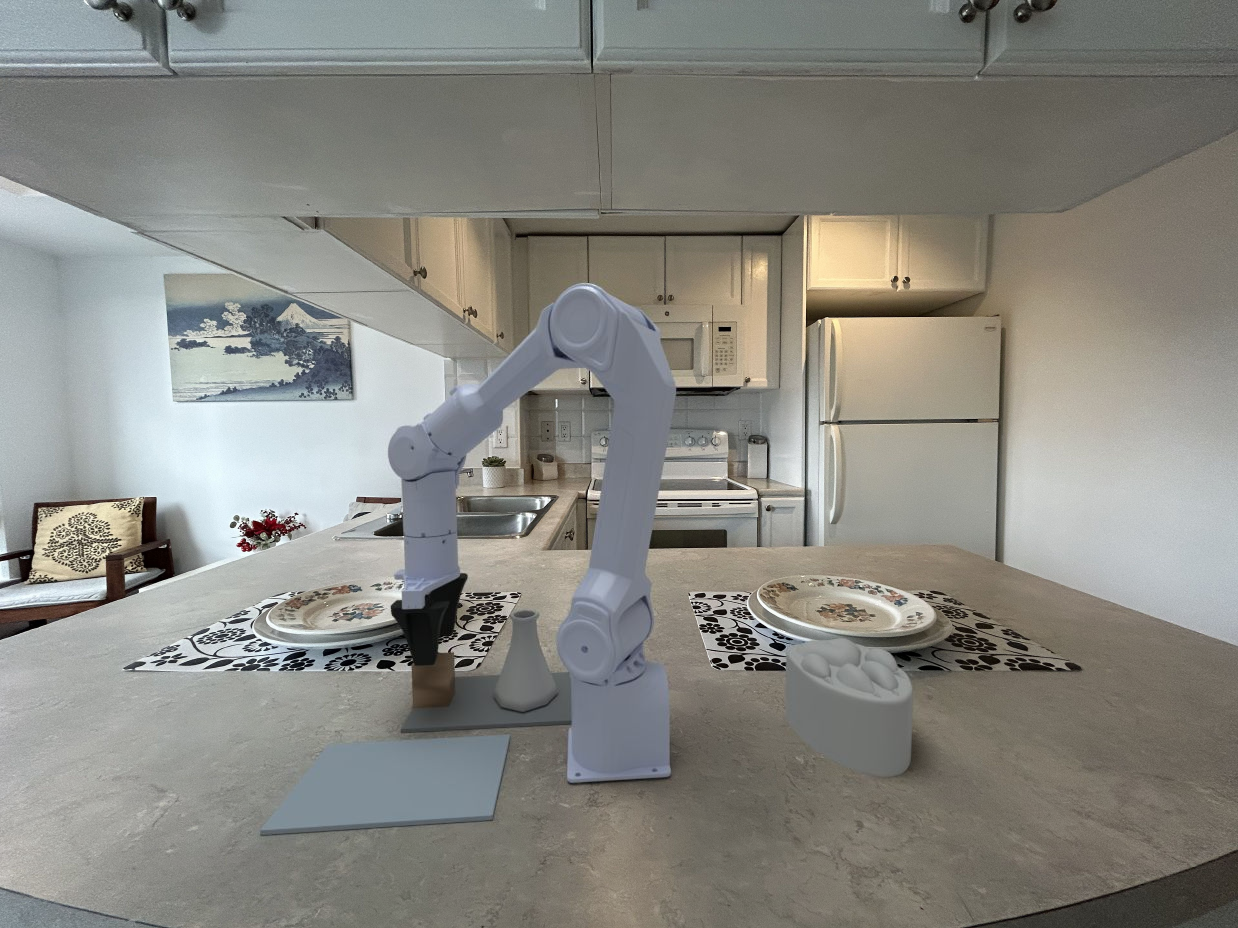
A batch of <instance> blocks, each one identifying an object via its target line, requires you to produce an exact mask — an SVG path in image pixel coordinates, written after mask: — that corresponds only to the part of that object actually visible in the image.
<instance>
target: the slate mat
mask: <svg viewBox="0 0 1238 928" xmlns="http://www.w3.org/2000/svg"><path fill="white" fill-rule="evenodd" d="M510 740H511V734H496V735H495V734H494V735H476V736H473V735H472V736H458V737H436V738H420V739H402V740H396V739H395V740H382V741H379V740H378V741H377V740H376V741H363V742H362V741H361V742H360V741H359V742H344V743H340V742H339V743H328V744H327V745H326V746H325V748H324V749H323V750H322V752H320V754H319V755H318V756H317V758H316V759H315V760H314V762H313V763H312V764H311V765H310V767H309V768H308V769H307V771H306V772H305V773H304V774H303V775H302V777H301V778H300V779H299V781H297V783H296V784H295V785H294V787H293V788H292V789H291V791H289V793H288V795H287V796H286V797H285V798H284V799H283V801H282V802H281V804H280V805H279V806H278V807H277V809H276V810H275V811H274V812H273V814H272V815H271V816H270V817H269V818H268V820H267V821H266V823H265V824H263V826H262V828H261V829H260V831H259V832H260V833H259V834H260V836H267V835H283V834H284V835H285V834H298V833H299V834H300V833H311V832H312V833H314V832H330V831H345V830H347V831H348V830H360V829H362V830H363V829H374V828H375V829H377V828H389V827H392V828H393V827H403V826H408V827H409V826H422V825H435V824H452V823H453V824H454V823H465V822H466V823H467V822H480V821H481V822H483V821H492V820H493V819H494V815H495V809H496V804H497V802H498V796H499V791H500V786H501V783H502V779H503V777H502V776H503V774H504V773H503V772H504V768H505V764H506V759H507V755H508V750H509V745H510V742H511V741H510Z"/></svg>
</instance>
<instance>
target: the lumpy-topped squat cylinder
mask: <svg viewBox="0 0 1238 928" xmlns="http://www.w3.org/2000/svg"><path fill="white" fill-rule="evenodd" d="M785 655H786V656H785V667H786V668H785V695H784V696H785V703H784V704H785V705H784V709H785V710H784V714H785V717H786V720H787V721H788V722H789V724H790V725H791V727H792V728H793V730H794V731H795V732H796V733H797V734H798V736H799V737H800V738H801V739H802V740H803V741H804V742H805V743H806V744H807V745H808V746H809V747H810V748H811V749H813V750H814V752H817V753H818V754H819V755H822V756H823V757H825V758H827V759H829V760H831V761H833V762H835V763H837V764H839V765H841V766H843V767H845V768H848V769H850V770H853V771H855V772H859V773H862V774H867V775H871V776H874V777H875V776H876V777H883V778H891V777H897V776H900V775H902V774H904V773H905V772H906V771H907V770H908V768H909V766H910V765H911V760H912V739H913V737H912V734H913V710H914V707H913V706H914V688H913V685H912V682H911V680H910V677H909V675H908V674H907V673H906V672H905V671H904V670H902V669H901V668H900V667H899V666H898V664H897V661H896V659H895V657H894V656H893V655H892V654H891V653H890V652H889V651H887V650H886V649H883V648H878V647H875V648H871V649H870V648H868V647H866V646H864V645H861V644H857V643H856V642H855V643H854V642H853V641H852V640H850V639H848V638H843V637H840V638H838V637H837V638H834V639H827V640H825V639H822V640H821V639H818V640H808V641H805V642H803V643H799V644H793V645H791V646H789V647H788V648H787V650H786V653H785Z"/></svg>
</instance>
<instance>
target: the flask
mask: <svg viewBox="0 0 1238 928" xmlns="http://www.w3.org/2000/svg"><path fill="white" fill-rule="evenodd" d="M539 617H540V613H539V612H538V611H537V610H535V609H532V608H531V609H529V608H523V609H517V610H514V611H513V612H511V613H510V614H509V619H510V620H511V623H512V632H511V633H512V634H511V639H510V645H509V648H508V651H507V654H506V657H505V661H504V664H503V665H502V669H501V672H500V674H499V675H500V677H499V679H498V682H497V685H496V687H495V690H494V693H493V697H494V698H495V699H496V701H497V702H498V704H499V705H500V706H501V707H504V708H508V709H513V710H517V711H521V712H524V711H527V710H530V709H533V708H537V707H540V706H543V705H546V704H548V702H549V701H550V700H551V699H552V698H553V697H554V696H555V695H556V694H557V693H558V689H557V687H556V684H555V682H554V679H553V677H552V675H551V673H552V672H551V671H550V668H549V665H548V663H547V660H546V657H545V654H544V652H543V650H542V647H541V644H540V638H539V634H538V627H537V626H538V625H537V624H538V623H537V620H538V619H539Z"/></svg>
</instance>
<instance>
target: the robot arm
mask: <svg viewBox="0 0 1238 928" xmlns="http://www.w3.org/2000/svg"><path fill="white" fill-rule="evenodd" d="M661 333H662V332H661V330H660V328H659V327H658V326H657V325H656V324H655V323H654V322H653V321H652V320H651V319H650V317H648V315H646V313H644V311H643V310H642V309H641V308H638V307H636V306H633V305H630V304H628V303H626V302H624V301H622V300H620V299H618V298H617V297H616V296H613V295H612V294H610V293H608V292H607V291H605V290H604V289H603V288H602V287H601V286H599V285H596V284H594V283H590V282H589V283H588V282H582V283H576V284H574V285H572V286H569V287H568V288H567V289H566V290H564V291H563V292H562V293H561V294H560V295H559V296H558V297H557V299H556V301H555V302H552V303H550V304H549V305H548V306H546V307H545V308H543V309H542V310H541V312H540V315H539V318H538V322H537V324H536V326H535V328H534V329H533V330H532V331H531V332H530V333H529V334H528V335H527V336H526V337H525V338H524V339H523V340H522V342H521V343H520V344H518V346H516V347H515V349H514V350H513V351H512V352H510V354H509V355H508V356H507V357H505V359H503V361H502V362H501V363H500V364H499V365H498V366H497V367H496V368H495V369H494V370H493V371H492V372H491V373H490V374H489V375H488V377H486V379H485V380H484V381H483V382H482V383H481V384H480V385H477V384H473V383H465V384H463V385H455V386H454V387H453V388H451V389H450V390H449V392H448V393H449V395H450V396H449V397H447V399H446V400H444V402H443V403H441V404H440V405H439V406H438V407H437V408H436V409H435V410H434V411H432V412H431V413H430V412H429V413H427V414H425V416H424V417H423V421H421V422H419V423H417V424H415V425H411V424H410V425H407V424H406V425H405V424H404V425H401V426H399V427H397V429H396V430H395V432H394V433H393V435H392V436H391V438H390V440H389V443H388V447H387V457H388V462H389V466H390V467H391V469H392V471H393V472H394V474H395V475H396V476H398V477H399V478H400V479H401V503H402V504H401V505H402V507H401V509H402V527H403V528H402V529H403V552H404V568H402V569H398V570H396V571H395V572H394V575H393V576H394V577H393V578H394V580H395V581H399V580H400V581H403V586H404V588H403V589H402V590H401V599H396V600H395V601H394V602H393V603H392V604H391V605H390V613H391V616H392V618H393V619H395V621H396V622H397V624H398V626H399V627H400V628H401V629H400V630H401V631H402V632H403V633H402V634H403V635H404V637H405V639H406V644H407V646H408V649H409V653H410V656H411V659H412V663H413V662H414V665H415V666H423V665H434V664H435V662H436V658H437V654H438V653H439V643H440V637H452V636H453V634H454V631H455V627H456V621H457V614H458V609H459V603H460V599H461V595H462V593H463V590H464V587H465V585H466V583H467V581H468V578H469V575H468V573H466V572H461V567H460V565H459V553H458V552H459V550H458V548H459V546H458V521H457V520H458V519H457V518H458V517H457V491H456V490H457V489H458V486H459V485H460V473H461V471H462V470H463V468H464V466H465V464H466V460H467V455H468V454H469V453H470V452H471V451H473V450H474V449H475V448H476V447H478V446H479V445H480V444H481V443H482V442H484V440H486V439H487V438H489V437H490V436H491V435H493V434H494V433H495V432H496V431H497V430H498V429H500V427H501V426H502V425H503V422H504V421H503V420H504V410H505V409H506V408H508V407H509V406H510V405H512V404H513V403H514V402H517V400H519V399H520V398H521V397H523V396H525V394H527V393H528V392H529V391H531V390H532V389H533V388H534V389H535V387H536V386H538V385H539V384H540V383H542V382H544V380H546V379H547V378H549V377H550V376H552V375H553V374H554V373H555V372H557V371H558V370H562V369H563V370H566V369H586V370H588V371H589V372H591V373H592V374H593V376H594V377H595V378H596V380H598V382H599V383H600V384H601V386H602V387H603V388H604V389H605V391H606V393H608V395H609V396H610V397H611V398H612V400H613V402H614V406H613V414H612V417H611V418H612V419H611V425H610V432H609V437H608V444H607V451H606V457H605V464H604V469H603V475H602V480H601V481H602V483H601V488H600V495H599V502H598V507H597V512H596V520H595V525H594V530H593V531H594V532H593V538H592V545H591V550H590V551H591V552H590V558H589V564H588V568H587V570H586V572H585V574H584V576H583V578H582V579H581V581H580V582H579V584H578V586H577V588H576V589H575V591H574V593H573V595H572V598H571V602H570V603H571V604H570V609H569V611H568V614H567V616H566V617H565V618H564V620H563V621H562V622H561V623H560V625H559V627H558V629H557V632H556V639H555V643H556V650H557V655H558V658H559V660H560V661H561V663H562V665H563V666H564V668H565V669H566V670H567V672H570V678H571V714H572V724H571V726H570V727H569V729H568V730H567V731H568V733H567V734H568V735H567V765H566V770H567V771H566V780H567V782H569V783H571V784H575V783H589V782H590V783H591V782H605V781H619V780H620V781H622V780H636V779H637V780H638V779H651V778H652V779H654V778H655V779H656V778H668V777H669V776H671V774H672V769H671V765H670V759H671V757H670V756H671V755H670V753H671V752H670V750H671V749H670V747H671V746H670V745H671V744H670V742H671V741H670V739H671V737H670V735H671V734H670V731H671V728H670V725H671V724H670V723H671V722H670V718H671V717H670V715H671V713H670V711H671V708H670V707H671V705H670V703H671V702H670V692H669V691H670V690H669V688H670V687H669V680H668V676H667V671H666V666H665V664H664V663H663V662H659V661H651V660H646V656H645V651H644V642H645V641H647V639H648V638H649V637H650V635H652V632H653V630H654V626H655V613H654V609H653V606H652V603H651V592H652V584H653V583H652V581H651V580H650V578H649V577H648V576H647V574H646V567H647V561H648V555H649V551H650V550H649V549H650V544H651V543H650V542H651V540H652V539H651V538H652V533H653V527H654V522H655V521H654V520H655V517H656V511H657V505H658V497H659V493H660V487H661V482H662V476H663V469H664V464H665V458H666V453H667V448H668V442H669V438H670V437H669V436H670V429H671V425H672V419H673V413H674V409H675V408H674V407H675V403H676V396H677V384H676V381H675V379H674V376H673V373H672V370H671V368H670V364H669V362H668V359H667V356H666V354H665V350H664V348H663V345H662V342H661V337H662V336H661Z"/></svg>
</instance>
